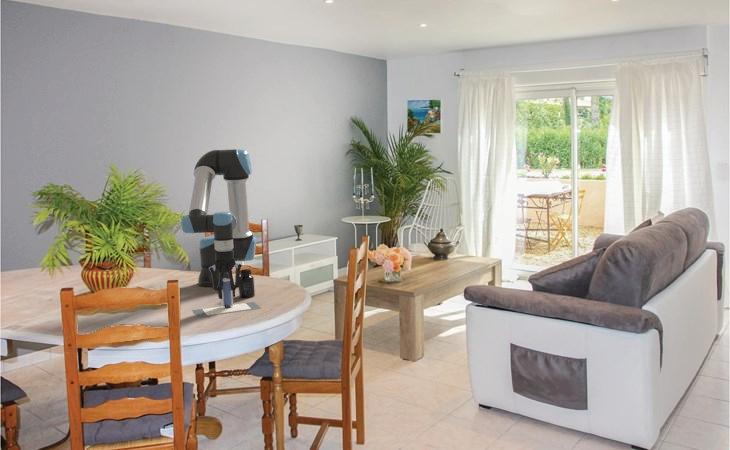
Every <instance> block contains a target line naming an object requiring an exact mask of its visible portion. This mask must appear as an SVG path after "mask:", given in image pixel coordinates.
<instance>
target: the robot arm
mask: <svg viewBox="0 0 730 450" xmlns="http://www.w3.org/2000/svg"><path fill="white" fill-rule="evenodd" d="M248 152H249V151H247V150H246V149H238V148H237V149H214V150H210V151H207V152H206V153H205V154H203V155H202V156H201V157H200V158H199V159H198V161H197V162H196V164H195V166H194V169H193V176H194V177H195V178H194V184H193V188H192V195H191V198H190V199H191V200H190V205H189V211H188V214H186V215H183V216H182V217H181V221H180V222H181V230H182V231H183V233H185V234H203V233H213V235H209V236H205V237H202V238H201V239H200V240H199V253H200V254H199V257H200V271H199V275H198V280H197V282H198V283H197V284H198V286H200V287H208V288H209V287H212V288H213V290H214V291H216V292H218V294H217V295H218V296H217V297H218V299H219V300H220V301H221V302H220V303H221V305H220V306H222V307H225V305H224V294H223V287H222V285H223V278H230V287H231V303H232V304H231V306H233V305H234V298H236V290H237V289H239V283H240V276H241V275H240V270H242V264H241V263H240V262H249V261H253V260H254V258H255V255H256V247H257V236H254V235H253V231H251V230H250V224H249V212H248V211H249V209H248V195H247V181H248V179H249V177H250V175H251V174H252V163H251V157H250V154H249V153H248ZM216 176H223V180H224V181H225V182H226V183H227V187H226V188H227V197H228V210H229V211H217V212H214V213H213V214H208V213H209V212H208V211H209V206H210V205H209V204H210V197H211V192H212V186H213V185H212V183H213V181H214V180H215V178H216ZM237 262H238V263H237ZM234 268H235V274H234V275H235V279H234V275H233V269H234ZM234 280H235V281H234Z"/></svg>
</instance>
